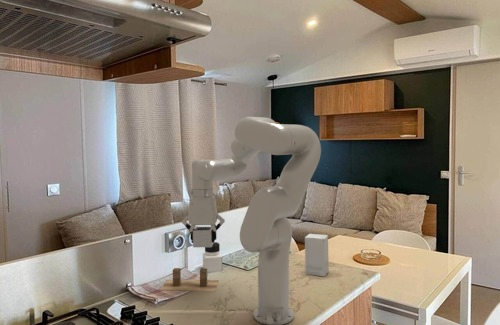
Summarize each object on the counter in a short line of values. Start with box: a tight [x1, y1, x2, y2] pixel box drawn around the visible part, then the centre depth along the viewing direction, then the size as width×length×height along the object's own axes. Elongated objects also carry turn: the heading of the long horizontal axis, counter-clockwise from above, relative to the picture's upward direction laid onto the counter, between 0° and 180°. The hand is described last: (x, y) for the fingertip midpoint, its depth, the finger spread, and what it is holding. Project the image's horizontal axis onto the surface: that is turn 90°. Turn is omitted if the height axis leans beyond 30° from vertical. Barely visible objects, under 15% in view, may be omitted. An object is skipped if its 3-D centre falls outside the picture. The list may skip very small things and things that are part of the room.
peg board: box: [159, 267, 220, 292], centre depth 141 cm, size 10×20×7 cm, turn 88°
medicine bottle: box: [202, 241, 223, 273], centre depth 159 cm, size 7×7×12 cm
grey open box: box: [192, 226, 213, 248], centre depth 140 cm, size 7×7×6 cm
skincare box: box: [304, 233, 330, 277], centre depth 155 cm, size 8×7×16 cm
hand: (203, 241), depth 140 cm, fingers closed on grey open box, 6 cm apart
